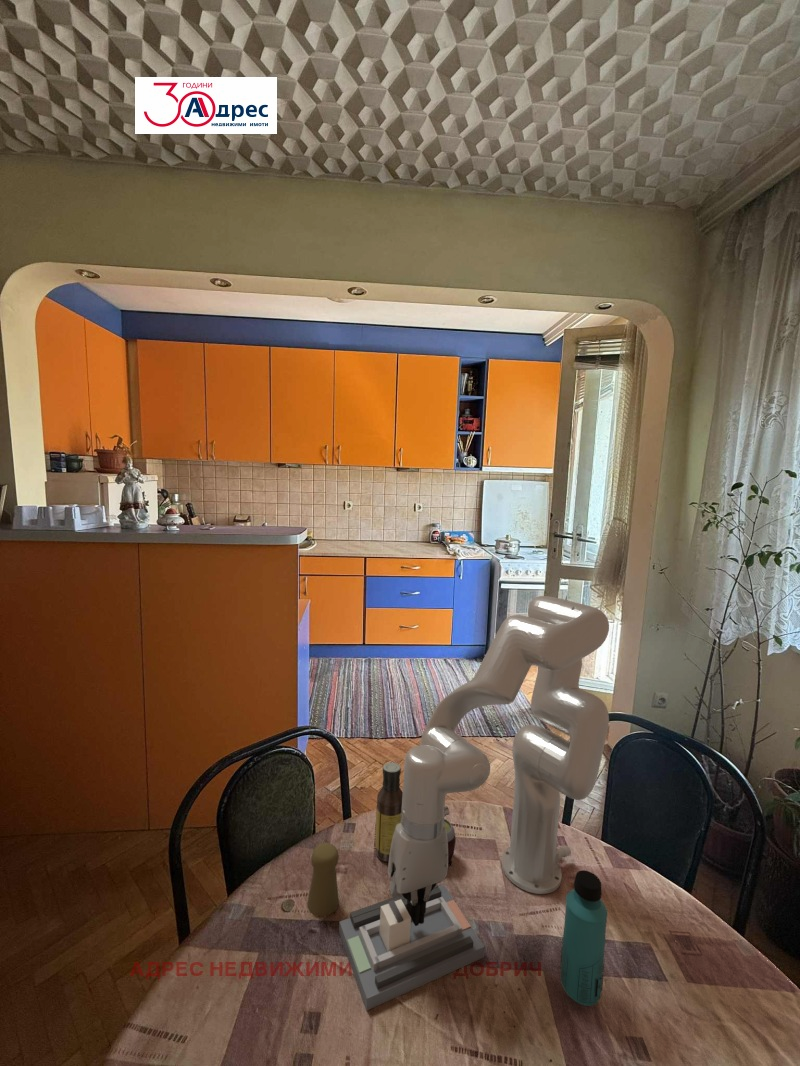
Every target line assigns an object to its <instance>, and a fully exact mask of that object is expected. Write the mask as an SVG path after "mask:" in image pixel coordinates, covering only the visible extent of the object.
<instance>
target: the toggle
mask: <svg viewBox="0 0 800 1066" xmlns="http://www.w3.org/2000/svg"><path fill="white" fill-rule="evenodd" d="M410 927H411V917H410V915H409V913H408V911H407V909H406V907H405V905H404V904H403V902H402V900H401V899H400V900H397V901H394V900H392V901H389V902H388V904H386V905H383V906H381V910H380V928H379V934H380V936H381V938H382V940H383V943H384V945H385V947H386V949H387V952H389V951H392V950H394V949H397V948H399V947H401V946H404V945H406V944H409V943H410Z"/></svg>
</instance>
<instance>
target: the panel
mask: <svg viewBox="0 0 800 1066" xmlns="http://www.w3.org/2000/svg"><path fill="white" fill-rule="evenodd" d="M400 899H401V900H402V902H403V904H404V905H405V907H406V909H407V899H406V898H404V897H403V896H401V897H396V898H393V897H391V898H388V899H385V900H384V899H383V900H382V901H379V902H377V903H374V904H373V903H372V904H369V905H368V906H365V907H362V908H359V909H355V910H353V911H351V912H349V913H350V914H349V918H345V919H343V920H341V921H339V923H338V924H339V925H338V926H339V927H338V934H339V935H340V936H339V937H340V939H341V942H342V945H343V948H344V951H345V954H346V956H347V959H348V962H349V965H350V968H351V971H352V973H353V977H354V979H355V981H356V984H357V988H358V990H359V993H360V996H361V999H362V1002H363V1006H364V1007H365V1010H366V1011H369V1010H371V1009H373V1008H376V1007H378V1006H380V1005H382V1004H384V1003H387V1002H389V1001H391V1000H393V999H396V998H398V997H400V996H402V995H405V994H407V993H409V992H411V991H413V990H415V989H418V988H419V987H422V986H425V985H426V984H428V983H430V982H433V981H434V980H438V979H439V978H442V977H443V976H445V975H449V974H450V973H453V972H455V971H457V970H459V969H461V968H464V967H466V966H467V965H469V964H473V963H474V962H477V961H479V960H481V959H483V958H484V957H485V947H486V946H485V945H484V943H483V942H482V940H481V939H480V937H479V936H478V934H477V933H476V931H475V930H474V928H473V927H472V925H471V924H470V922H469V921H468V919H467V917H466V916H465V914H464V913H463V911H462V910H461V908H460V906H458V904H457V902H456V900H455V899H454V897H453V896H452V894H451V893H450V892H449V890H448V888H447V887H446V885H445V884H443V883H442V885H438V884H436V886H435V887H434V888H433V890H432V891H431V893H430V898H429V900H428V901H426V912H425V913H424V923H423V924H420V923H419V925H417V926H415V925H414V923H413V921H412V919H411V927H410V943H409V944H406V945H404V946H401V947H399V948H397V949H394V950H392V951H389V952H387V949H386V947H385V945H384V943H383V940H382V938H381V936H380V934H379V928H380V910H381V906H383V905H386V904H388V902H389V901H392V900H394V901H397V900H400Z"/></svg>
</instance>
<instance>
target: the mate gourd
mask: <svg viewBox="0 0 800 1066" xmlns="http://www.w3.org/2000/svg"><path fill="white" fill-rule="evenodd" d="M444 824H445V827H446V832H447V840H448V866H452V864H453V861H452V859H453V857H454V853H455V849H456V848H455V847H456V841H457V840H456V831H455V828H454V826H453V825H452V823H451V822H450V821H449V820H447V819H446V818H444Z"/></svg>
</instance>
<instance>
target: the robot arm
mask: <svg viewBox="0 0 800 1066" xmlns="http://www.w3.org/2000/svg"><path fill="white" fill-rule="evenodd" d="M609 623H610V622H609V620H608V617H607V615H606V614H605V612H603V610H600V608H597V607H594V606H591V605H588V604H583V603H579V602H575V601H569V600H567V599H563V598H559V597H554V596H550V595H549V596H547V595H539V596H536V597H534V598H532V599H531V601H530V603H529V605H528V609H527V616H526V615H520V614H517V615H516V614H513V615H510V616H508V617H507V618H505V619H504V620H503V621H502V623H501V625H500V627H499V628H498V629H497V632H496V634H495V636H494V638H493V640H492V642H491V644H490V645H489V648H488V649H487V651H486V654H485V655H484V657H483V660H482V662H481V663H480V665H479V666H478V670H477V671H476V673H475V675H474V677H472V679H471V680H469V681H468V682H466V683H464V684H462V685H460V686H459V687H456V689H454V690H453V691H451V692H450V693H449V694H448V695H447V696H445V697H444V698H443V699H442V700H441V701H440V702H439V703H438V704H437V706H436V707H435V709H433V713H432V714H431V716H430V718H429V720H428V721H427V723H426V725H425V728H424V730H423V733H422V735H421V738H420V745H415V746H413V747H411V748H410V749H409V750H408V751H407V752H406V754H405V756H404V763H403V764H404V765H403V776H402V777H403V780H402V781H403V783H402V792H403V794H402V809H401V823H399V824H397V825H396V828H395V831H394V834H393V838H392V843H391V848H390V855H389V862H388V866H387V876H388V878H390V879H391V878H392V879H391V883H390V885H389V888H388V889H389V890H388V892H389V894H390V895H391V898H396V897H401V896H403V897H404V898H406V899H407V911H408V913H409V915H410V917H411V919H412V921H413V923H414V925H415V926H417V925H419V923H420V924H423V923H424V913H425V912H426V901H428V900H429V898H430V893H431V891H432V890H433V888H434V887H435V886H436V884H437V885H438V884H440V883H441V882H444V881H445V879H446V877H447V874H448V868H449V865H448V840H447V832H446V827H445V824H444V819H445V817H446V816H448V815H450V808H449V807H448V806H445V803H446V796H447V794H454V793H455V794H456V793H466V792H471V791H474V790H477V789H478V788H480V787H482V786H483V785H484V784H485V783H486V782H487V780H488V779H489V776H490V773H491V762H490V760H489V758H488V756H487V755H486V754H485V753H484V751H482V750H481V749H480V748H478V747H477V746H476V745H474V744H473V743H471V742H470V741H468V740H467V739H466V738H464V737H463V736H461V735H460V734H458V733H456V729H457V728H458V726H459V724H460V722H461V721H462V720H463V719H464V717H465V716H466V715H468V713H470V712H472V711H473V710H475V709H478V708H481V707H485V706H496V705H497V706H500V705H501V706H502V705H504V706H506V705H511V704H513V702H515V700H516V698H517V696H518V693H519V692H520V689H522V686H523V684H524V681H525V680H526V677H527V676H528V673H529V671H530V669H531V667H532V666H535V667H538V669H537V674H536V678H535V683H534V686H533V690H532V696H531V701H530V710H531V712H532V714H533V715H534V717H536V718H537V719H538V720H539V721H541V722H542V723H545V724H546V725H548V726H549V727H551V728H553V729H556V730H557V731H559V732H561V733H563V734H565V735H567V736H569V740H568V739H565V738H563V737H562V736H560V735H558V734H557V733H555V732H552V731H551V730H549V729H547V728H546V727H542V726H539V725H536V724H527V725H524V726H522V727H520V729H518V731H517V732H516V734H515V736H514V737H513V740H512V761H513V766H514V767H513V768H514V787H513V788H514V791H513V803H512V815H511V827H510V829H511V830H510V842H509V847H507V848H506V849H505V850H504V851H503V853H502V855H501V867H502V871H503V873H504V875H505V876H506V878H507V879H509V881H510V882H511V883H512V884H514V885H515V886H517V888H519V889H521V890H523V891H526V892H528V893H532V894H536V895H546V894H550V893H553V892H554V891H556V890H558V888H559V887H560V886H561V884H562V868H561V867H560V864H559V862H560V861H561V860H562V858H566V857H569V856H571V855H572V849H571V848H570V847H569V846H568V845H563V846H561V847H559V844H558V831H559V830H558V829H559V820H560V819H559V818H560V809H561V795H560V794H562V795H564V796H566V797H567V798H569V799H572V800H575V801H582V800H584V799H587V798H588V797H589V795H590V794H591V793H592V791H593V789H594V787H595V785H596V782H597V778H598V775H599V770H600V766H601V762H602V757H603V753H604V749H605V744H606V740H607V735H608V732H609V723H610V716H609V710H608V707H607V705H606V704H605V702H604V701H603V700H602V699H601V698H600V697H598V696H596V695H595V694H592V693H590V692H588V691H586V690H585V689H581V688H580V686H579V683H580V678H581V673H582V668H583V659H584V658H585V657H587V656H589V655H590V654H592V653H593V652H595V651H596V650H598V649H599V648H600V647H601V646H602V645H603V644H604V643H605V641H606V640H607V637H608V635H609V632H610V624H609ZM558 847H559V848H558Z"/></svg>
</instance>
